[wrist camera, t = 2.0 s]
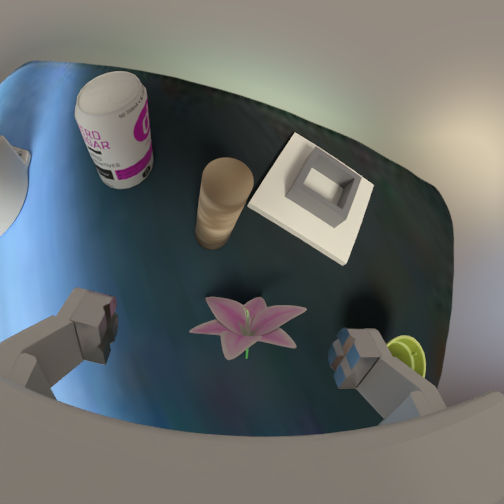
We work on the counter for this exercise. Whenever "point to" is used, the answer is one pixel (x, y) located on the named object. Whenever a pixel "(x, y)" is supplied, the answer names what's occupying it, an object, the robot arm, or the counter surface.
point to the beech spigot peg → (221, 200)
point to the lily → (247, 324)
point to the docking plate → (314, 198)
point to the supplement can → (116, 128)
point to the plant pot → (408, 353)
